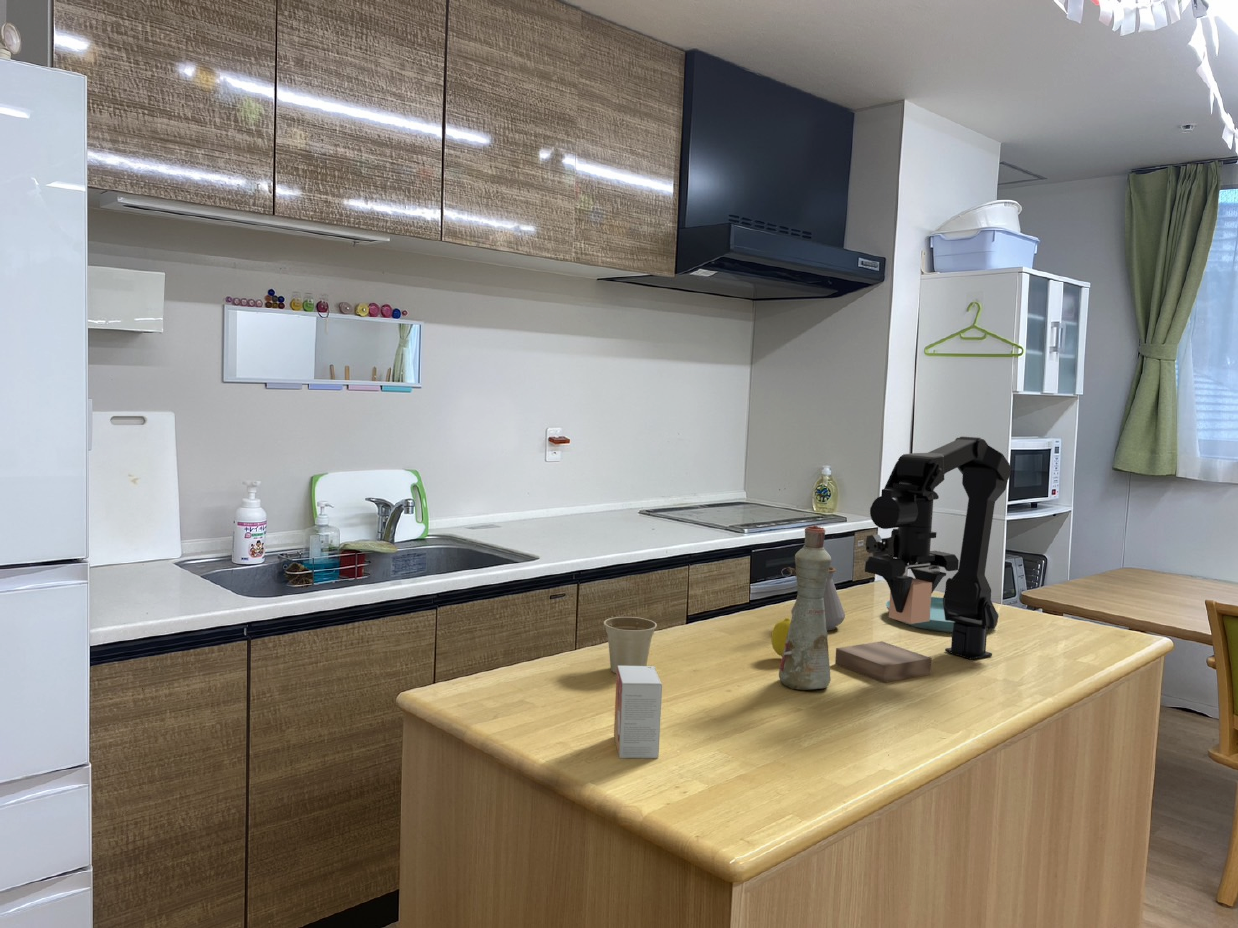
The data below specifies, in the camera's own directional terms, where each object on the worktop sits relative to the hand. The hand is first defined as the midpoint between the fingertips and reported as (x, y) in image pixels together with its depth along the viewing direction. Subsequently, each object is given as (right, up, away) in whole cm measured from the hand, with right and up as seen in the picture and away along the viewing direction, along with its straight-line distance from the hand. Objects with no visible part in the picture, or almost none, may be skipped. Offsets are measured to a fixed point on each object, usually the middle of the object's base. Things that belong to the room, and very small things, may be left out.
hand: (909, 610), depth 163 cm
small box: (-50, -13, -37) cm, 64 cm away
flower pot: (-51, -10, -3) cm, 52 cm away
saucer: (+21, -10, +43) cm, 49 cm away
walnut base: (-4, -11, +4) cm, 13 cm away
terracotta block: (0, -2, 0) cm, 2 cm away
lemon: (-21, -11, +8) cm, 25 cm away
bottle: (-20, -12, -7) cm, 25 cm away
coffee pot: (-12, -9, +30) cm, 34 cm away
